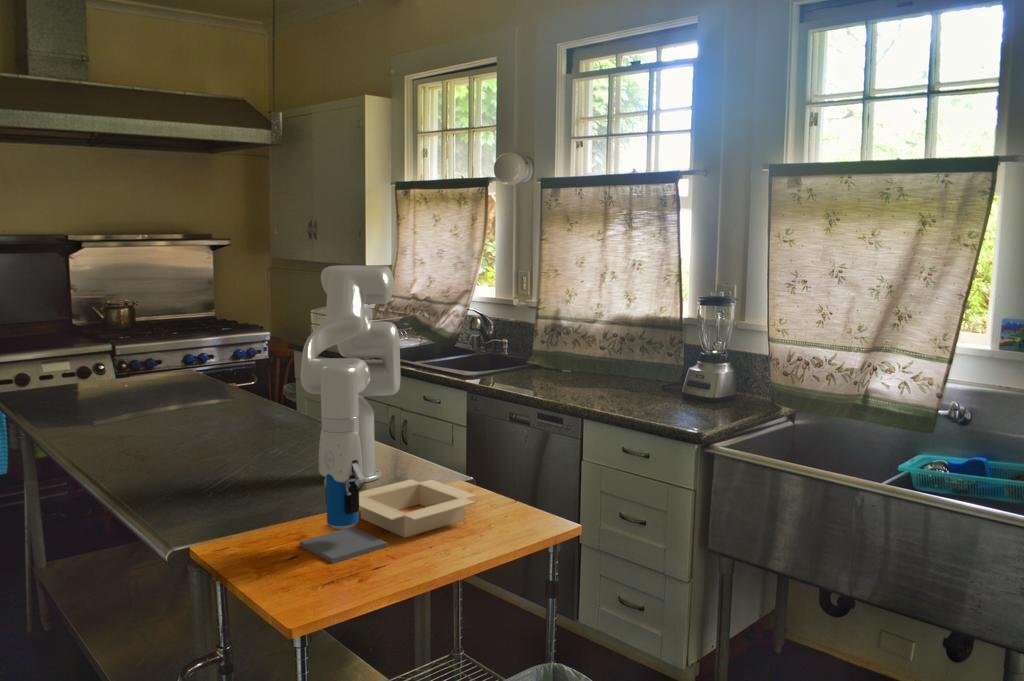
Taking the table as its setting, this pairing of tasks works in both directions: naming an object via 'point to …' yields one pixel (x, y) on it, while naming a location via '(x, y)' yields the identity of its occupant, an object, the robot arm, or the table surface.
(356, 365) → the robot arm
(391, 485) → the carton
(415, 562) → the table surface
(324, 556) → the mat
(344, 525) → the beverage can
